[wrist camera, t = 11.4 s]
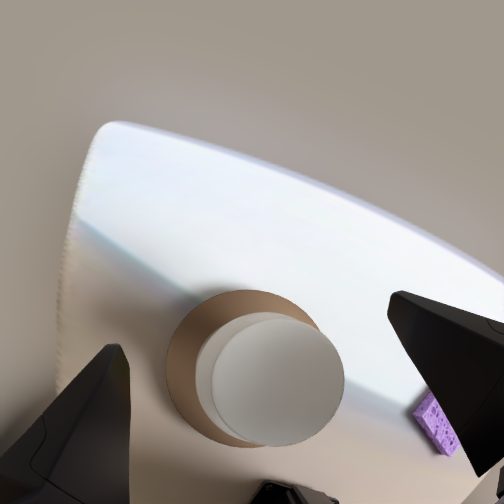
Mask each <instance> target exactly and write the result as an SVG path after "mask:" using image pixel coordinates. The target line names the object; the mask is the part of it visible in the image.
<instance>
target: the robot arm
mask: <svg viewBox="0 0 504 504" xmlns="http://www.w3.org/2000/svg"><path fill="white" fill-rule="evenodd" d="M387 316H388V319H389V321H390V323H391V325H392V326H393V328H394V330H395V332H396V334H397V336H398V338H399V340H400V341H401V343H402V345H403V347H404V349H405V351H406V352H407V354H408V356H409V357H410V359H411V360H412V362H413V363H414V365H415V366H416V368H417V370H418V371H419V373H420V374H421V376H422V377H423V379H424V381H425V382H426V384H427V386H428V387H429V389H430V390H431V392H432V394H433V395H434V397H435V399H436V400H437V402H438V404H439V406H440V407H441V409H442V411H443V412H444V414H445V416H446V418H447V419H448V421H449V423H450V425H451V426H452V428H453V430H454V432H455V434H456V436H457V438H458V440H459V441H460V443H461V445H462V447H463V449H464V451H465V453H466V455H467V457H468V459H469V461H470V463H471V465H472V467H473V469H474V471H475V473H476V475H477V476H478V478H479V477H481V476H482V475H483V474H484V473H486V472H487V471H488V470H489V469H491V468H492V467H493V466H494V465H495V464H496V463H498V462H499V461H500V460H501V459H502V458H503V457H504V323H502V322H498V321H495V320H492V319H489V318H486V317H485V318H484V317H483V316H480V315H477V314H474V313H471V312H468V311H464V310H461V309H458V308H455V307H452V306H449V305H446V304H443V303H440V302H437V301H434V300H431V299H428V298H424V297H421V296H418V295H415V294H412V293H409V292H406V291H397V292H394V293H392V295H391V297H390V302H389V306H388V311H387ZM130 419H131V400H130V368H129V363H128V361H127V359H126V356H125V354H124V352H123V350H122V348H121V346H120V345H119V344H117V343H116V344H107V345H106V346H105V347H104V348H103V349H102V350H101V351H100V352H99V353H98V354H97V355H96V356H95V357H94V358H93V359H92V360H91V361H90V362H89V363H88V364H87V365H86V366H85V368H84V369H83V370H82V371H81V372H80V373H79V374H78V375H77V376H76V377H75V378H74V379H73V380H72V381H71V382H70V384H69V385H68V386H67V387H66V388H65V389H64V390H63V391H62V392H61V393H60V394H59V396H58V397H57V398H56V399H55V400H54V401H53V402H52V403H51V404H50V406H49V407H48V408H47V409H46V410H45V411H44V412H43V415H41V416H40V417H39V418H38V419H37V420H36V421H35V422H34V424H33V425H32V426H31V427H30V428H29V429H28V430H27V431H26V432H25V433H24V434H23V435H22V436H21V437H20V438H19V439H18V440H17V441H16V442H15V443H14V444H13V445H12V446H11V447H10V448H9V449H8V450H7V451H6V452H5V453H4V454H3V455H2V456H1V457H0V504H130V501H129V439H130ZM267 485H272V487H271V488H266V486H267ZM496 495H497V497H498V498H499V500H498V501H497V502H496V503H495V504H504V465H503V466H502V468H501V469H500V475H499V482H498V488H497V494H496ZM248 504H339V501H338V500H337V499H335V498H331V497H327V495H326V494H325V493H323V492H319V491H315V490H312V489H308V488H304V487H301V486H298V485H295V486H292V487H290V486H287V485H283V484H280V483H277V482H275V481H271V480H267V481H264V482H263V483H262V484H261V486H260V487H259V489H258V490H257V491H256V493H255V494H254V496H253V497H252V498H251V500H250V501H249V502H248Z"/></svg>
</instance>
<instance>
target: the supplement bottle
mask: <svg viewBox="0 0 504 504" xmlns="http://www.w3.org/2000/svg"><path fill="white" fill-rule="evenodd" d="M196 390H197V395H198V398H199V401H200V404H201V406H202V408H203V410H204V411H205V413H206V414H207V416H208V417H209V418H210V420H211V421H212V422H213V423H214V424H215V425H216V426H217V427H219V428H220V429H221V430H222V431H224V432H225V433H227V434H229V435H231V436H233V437H235V438H237V439H240V440H243V441H247V442H252V443H255V444H259V445H263V446H271V447H279V446H288V445H292V444H296V443H299V442H302V441H304V440H306V439H308V438H310V437H312V436H313V435H315V434H316V433H318V432H319V431H320V430H321V429H322V428H324V427H325V426H326V425H327V423H328V422H329V421H330V420H331V419H332V417H333V416H334V414H335V413H336V411H337V409H338V407H339V405H340V402H341V399H342V395H343V391H344V369H343V365H342V362H341V359H340V356H339V354H338V352H337V350H336V349H335V347H334V345H333V344H332V343H331V341H330V340H329V339H328V338H327V337H326V336H325V335H324V334H323V333H321V332H320V331H319V330H317V329H316V328H314V327H312V326H311V325H308V324H306V323H304V322H301V321H299V320H297V319H295V318H293V317H290V316H287V315H284V314H280V313H273V312H258V313H252V314H248V315H245V316H241V317H238V318H236V319H234V320H232V321H230V322H228V323H227V324H225V325H224V326H223V327H221V328H220V329H219V330H218V331H217V332H216V333H215V334H214V335H213V336H212V337H211V338H210V339H209V340H208V342H207V343H206V345H205V347H204V348H203V350H202V352H201V355H200V357H199V360H198V364H197V368H196Z"/></svg>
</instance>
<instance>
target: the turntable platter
mask: <svg viewBox="0 0 504 504" xmlns="http://www.w3.org/2000/svg"><path fill="white" fill-rule="evenodd" d="M258 312H273V313H280V314H284V315H287V316H290V317H293V318H295V319H297V320H299V321H301V322H304V323H306V324H308V325H311V326H312V327H314V328H316V329H317V330H319V328H318V327H317V325H316V324H315V323H314V321H313V320H312V319H311V318H310V317H309V316H308V315H307V314H306V313H305V312H304V311H303V310H302V309H301V308H299V307H298V306H297V305H295V304H294V303H292V302H291V301H289V300H287V299H285V298H283V297H281V296H278V295H275V294H272V293H269V292H264V291H258V290H237V291H232V292H227V293H223V294H220V295H217V296H215V297H213V298H211V299H208V300H207V301H205V302H203V303H202V304H200V305H199V306H197V307H196V308H195V309H194V310H192V311H191V312H190V313H189V314H188V315H187V316H186V317H185V319H184V320H183V321H182V322H181V324H180V325H179V326H178V328H177V329H176V331H175V333H174V335H173V337H172V339H171V342H170V345H169V348H168V352H167V357H166V381H167V385H168V390H169V393H170V395H171V398H172V401H173V402H174V404H175V406H176V408H177V410H178V411H179V413H180V414H181V415H182V417H183V418H184V419H185V420H186V421H187V422H188V423H189V424H190V425H191V426H192V427H193V428H194V429H195V430H197V431H198V432H199V433H201V434H202V435H204V436H206V437H207V438H209V439H211V440H213V441H216V442H218V443H221V444H225V445H228V446H233V447H240V448H255V447H263V445H259V444H255V443H252V442H247V441H243V440H240V439H237V438H235V437H233V436H231V435H229V434H227V433H225V432H224V431H222V430H221V429H220V428H219V427H217V426H216V425H215V424H214V423H213V422H212V421H211V420H210V418H209V417H208V416H207V414H206V413H205V411H204V410H203V408H202V406H201V404H200V401H199V398H198V395H197V390H196V368H197V364H198V360H199V357H200V355H201V352H202V350H203V348H204V347H205V345H206V343H207V342H208V340H209V339H210V338H211V337H212V336H213V335H214V334H215V333H216V332H217V331H218V330H219V329H220V328H221V327H223V326H224V325H225V324H227V323H228V322H230V321H232V320H234V319H236V318H238V317H241V316H245V315H248V314H252V313H258ZM319 331H320V330H319Z"/></svg>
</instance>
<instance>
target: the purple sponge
mask: <svg viewBox="0 0 504 504" xmlns="http://www.w3.org/2000/svg"><path fill="white" fill-rule="evenodd" d="M484 318H485V317H484ZM413 416H414V417H415V419H416V420H417V421H418V423H419V424H420V426H421V427H422V428H423V429H424V431H425V432H426V433H427V435H428V436H429V438H430V439H431V441H432V442H433V443H434V444H435V446H436V447H437V448H438V450H439V451H440V452H441V454H443V455H446V456H449V457H452V455H453V454H454V452H455V451H456V449H457V448H458V447H459V445H460V444H461V443H460V441H459V440H458V438H457V436H456V434H455V432H454V430H453V428H452V426H451V425H450V423H449V421H448V419H447V418H446V416H445V414H444V412H443V411H442V409H441V407H440V406H439V404H438V402H437V400H436V399H435V397H434V395H433V394H432V392H431V391H430V393H429V394H428V395H427V396H426V398H425V399H424V400H423V401H422V403H421V404H420V405H419V406H418V407H417V409H416V410H415V411H414V412H413Z"/></svg>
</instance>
